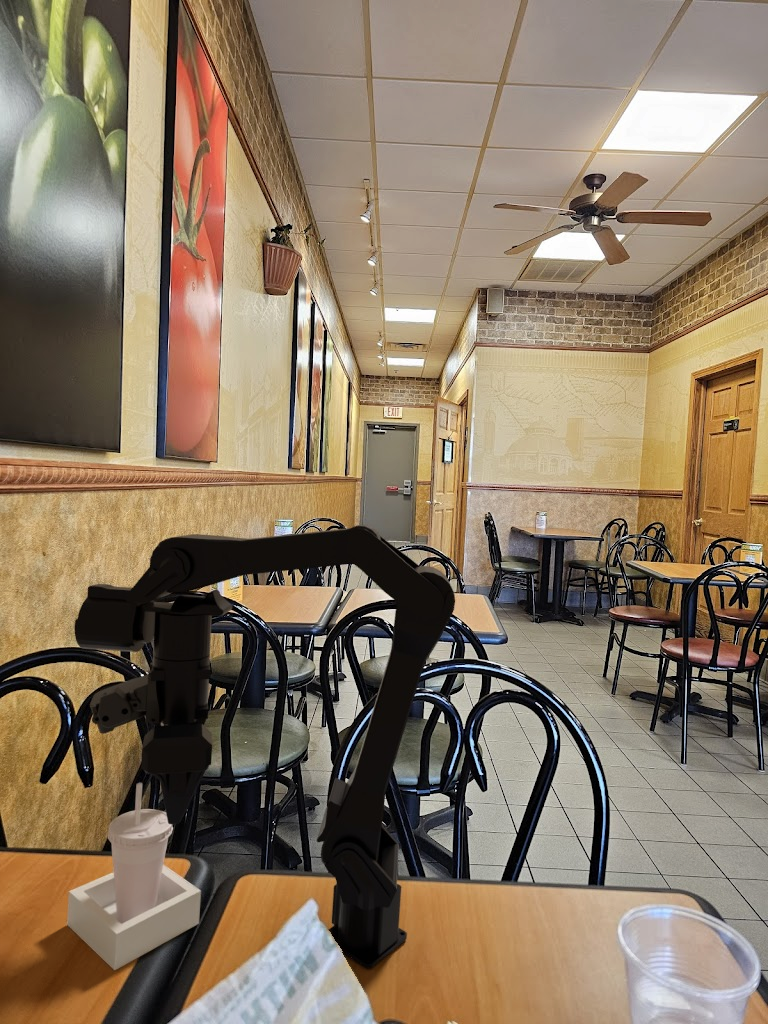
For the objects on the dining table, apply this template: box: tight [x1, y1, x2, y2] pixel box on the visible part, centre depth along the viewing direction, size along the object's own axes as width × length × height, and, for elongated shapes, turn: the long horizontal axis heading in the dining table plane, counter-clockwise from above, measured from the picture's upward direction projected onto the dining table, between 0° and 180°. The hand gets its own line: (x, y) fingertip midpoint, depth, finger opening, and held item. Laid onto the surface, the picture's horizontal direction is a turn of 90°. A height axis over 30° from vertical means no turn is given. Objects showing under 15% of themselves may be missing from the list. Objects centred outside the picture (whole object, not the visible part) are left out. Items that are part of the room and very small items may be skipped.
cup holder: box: [66, 863, 202, 971], centre depth 68 cm, size 9×9×4 cm
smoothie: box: [107, 782, 174, 924], centre depth 68 cm, size 6×6×14 cm
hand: (175, 801), depth 68 cm, fingers open, 9 cm apart
